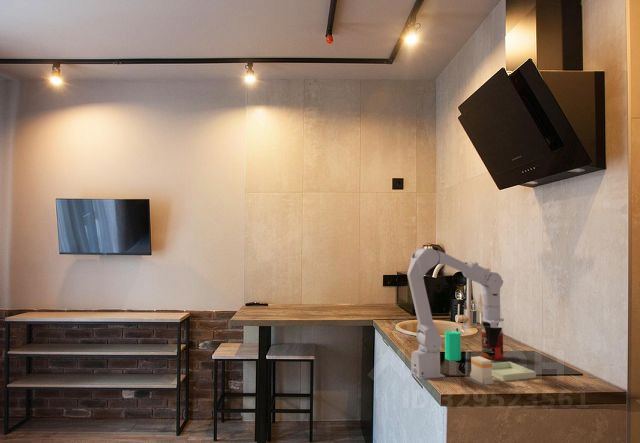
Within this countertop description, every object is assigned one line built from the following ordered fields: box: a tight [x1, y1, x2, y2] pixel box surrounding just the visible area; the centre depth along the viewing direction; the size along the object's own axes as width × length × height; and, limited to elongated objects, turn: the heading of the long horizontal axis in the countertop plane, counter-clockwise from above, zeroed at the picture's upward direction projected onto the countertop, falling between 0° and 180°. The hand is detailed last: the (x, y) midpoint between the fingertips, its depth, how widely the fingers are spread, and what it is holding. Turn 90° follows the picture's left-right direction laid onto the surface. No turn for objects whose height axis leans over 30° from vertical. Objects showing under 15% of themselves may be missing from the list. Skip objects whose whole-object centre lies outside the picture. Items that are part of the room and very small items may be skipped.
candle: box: [444, 328, 462, 362], centre depth 176 cm, size 6×6×12 cm
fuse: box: [470, 355, 493, 384], centre depth 147 cm, size 4×6×7 cm, turn 16°
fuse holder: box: [464, 372, 500, 387], centre depth 147 cm, size 7×9×2 cm
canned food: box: [481, 327, 504, 361], centre depth 178 cm, size 8×8×11 cm
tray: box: [492, 361, 537, 382], centre depth 155 cm, size 13×13×2 cm
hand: (491, 344), depth 157 cm, fingers open, 7 cm apart
